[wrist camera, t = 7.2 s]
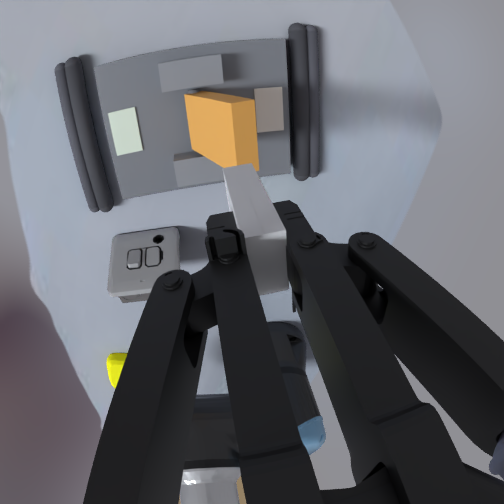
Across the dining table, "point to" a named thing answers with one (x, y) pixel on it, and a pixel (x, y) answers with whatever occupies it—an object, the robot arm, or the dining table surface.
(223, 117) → the lever
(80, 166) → the cable bundle
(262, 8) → the dining table surface
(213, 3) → the dining table surface
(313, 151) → the cable bundle
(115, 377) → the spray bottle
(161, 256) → the electrical switch
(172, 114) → the breaker panel
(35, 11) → the dining table surface
